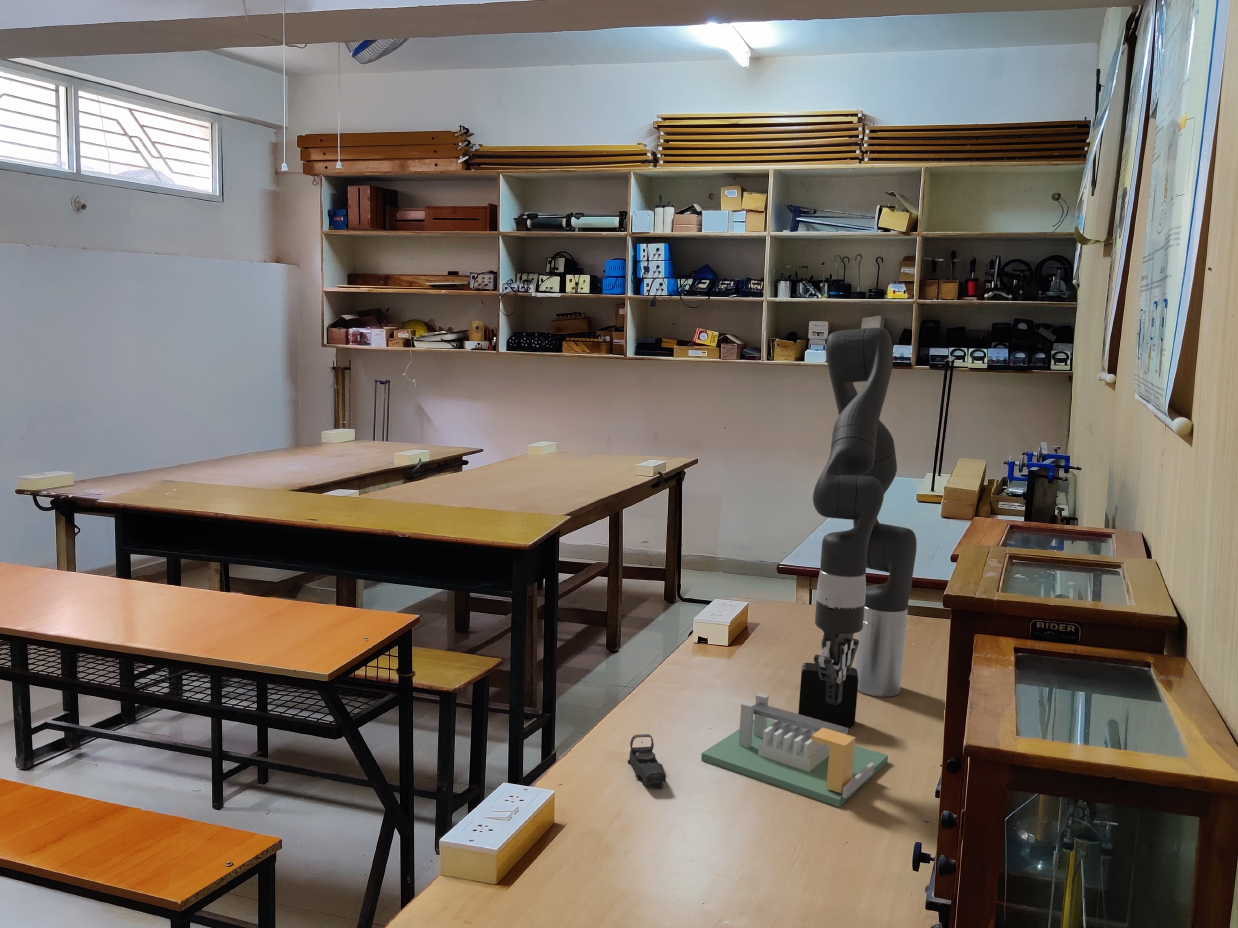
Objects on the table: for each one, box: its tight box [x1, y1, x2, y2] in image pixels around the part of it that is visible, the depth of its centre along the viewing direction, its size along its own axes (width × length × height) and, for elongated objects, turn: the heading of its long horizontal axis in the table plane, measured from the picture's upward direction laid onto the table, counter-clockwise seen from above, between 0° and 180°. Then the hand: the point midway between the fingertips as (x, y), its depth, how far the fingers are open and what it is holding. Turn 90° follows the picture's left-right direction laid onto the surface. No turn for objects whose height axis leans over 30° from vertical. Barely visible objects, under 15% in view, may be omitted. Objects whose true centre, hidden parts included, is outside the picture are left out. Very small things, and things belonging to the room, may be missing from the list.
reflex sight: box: [627, 733, 667, 790], centre depth 155 cm, size 4×10×5 cm, turn 12°
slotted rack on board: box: [700, 692, 889, 808], centre depth 162 cm, size 20×25×8 cm
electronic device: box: [797, 662, 859, 729], centre depth 179 cm, size 4×10×10 cm, turn 78°
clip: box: [811, 728, 856, 793], centre depth 151 cm, size 4×5×8 cm
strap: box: [753, 702, 849, 735], centre depth 162 cm, size 4×16×1 cm, turn 54°
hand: (833, 702), depth 159 cm, fingers closed
